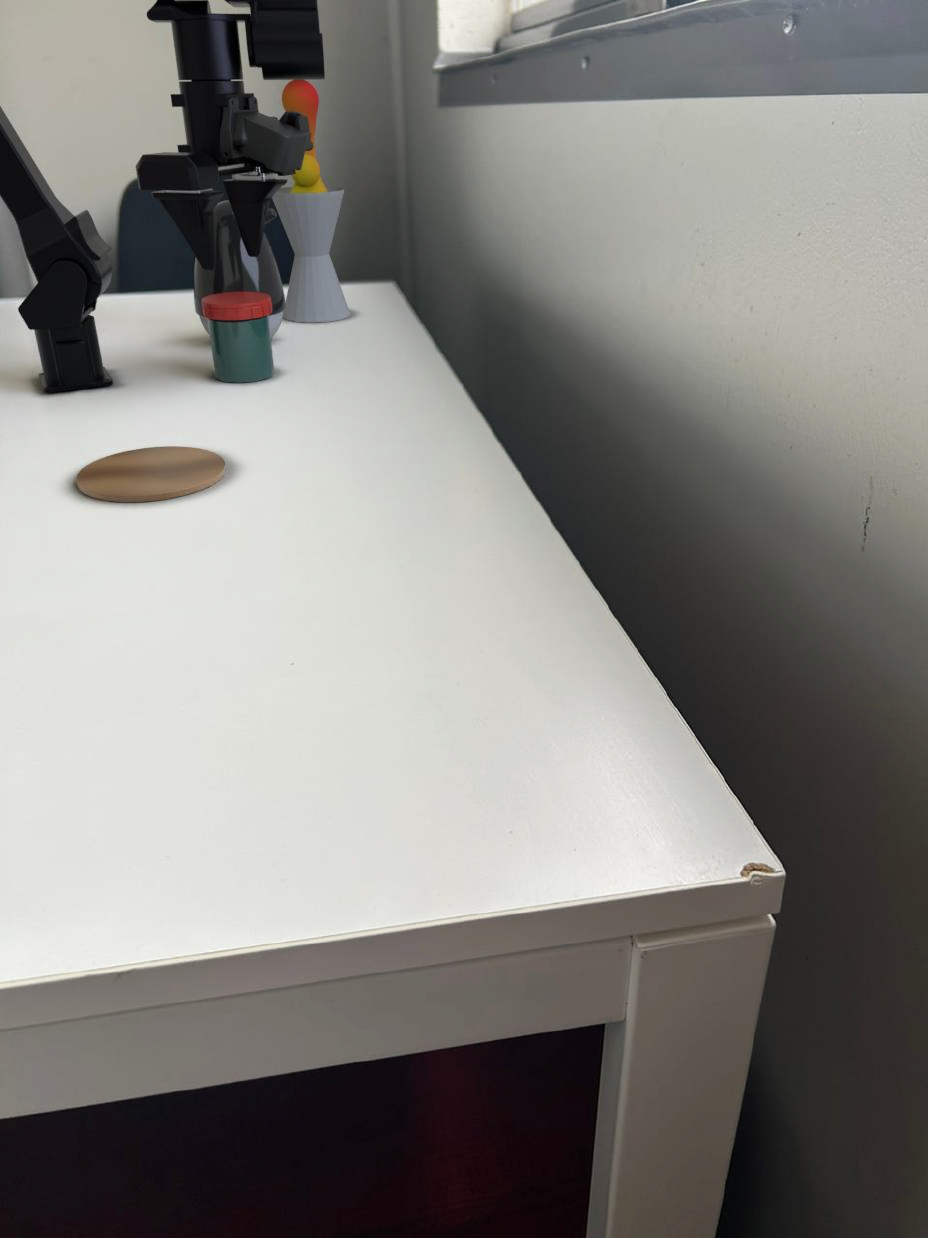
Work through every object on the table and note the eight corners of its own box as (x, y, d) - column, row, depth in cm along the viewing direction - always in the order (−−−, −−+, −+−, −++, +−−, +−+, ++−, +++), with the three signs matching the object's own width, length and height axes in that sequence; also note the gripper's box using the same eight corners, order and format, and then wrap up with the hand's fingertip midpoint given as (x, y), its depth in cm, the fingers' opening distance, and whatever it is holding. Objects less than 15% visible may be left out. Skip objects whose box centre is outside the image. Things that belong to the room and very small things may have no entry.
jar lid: (196, 310, 100) (194, 295, 99) (261, 304, 103) (260, 289, 102) (211, 323, 95) (209, 307, 94) (280, 316, 97) (279, 300, 96)
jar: (209, 371, 103) (199, 300, 99) (265, 365, 105) (258, 295, 102) (223, 385, 98) (213, 311, 95) (281, 378, 100) (274, 305, 97)
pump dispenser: (271, 353, 110) (256, 205, 102) (184, 349, 112) (164, 204, 104) (302, 333, 118) (291, 195, 111) (221, 329, 120) (205, 194, 113)
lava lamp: (283, 309, 131) (254, -2, 114) (351, 307, 132) (333, -2, 115) (279, 323, 123) (248, -8, 106) (352, 321, 124) (332, -8, 107)
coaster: (69, 464, 78) (68, 458, 78) (208, 444, 82) (207, 438, 82) (87, 512, 69) (86, 505, 69) (242, 486, 73) (241, 480, 73)
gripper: (235, 80, 79) (257, 283, 86) (337, 79, 94) (348, 252, 102) (118, 81, 82) (148, 277, 89) (235, 80, 97) (252, 247, 105)
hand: (232, 262), depth 96 cm, fingers open, 8 cm apart
